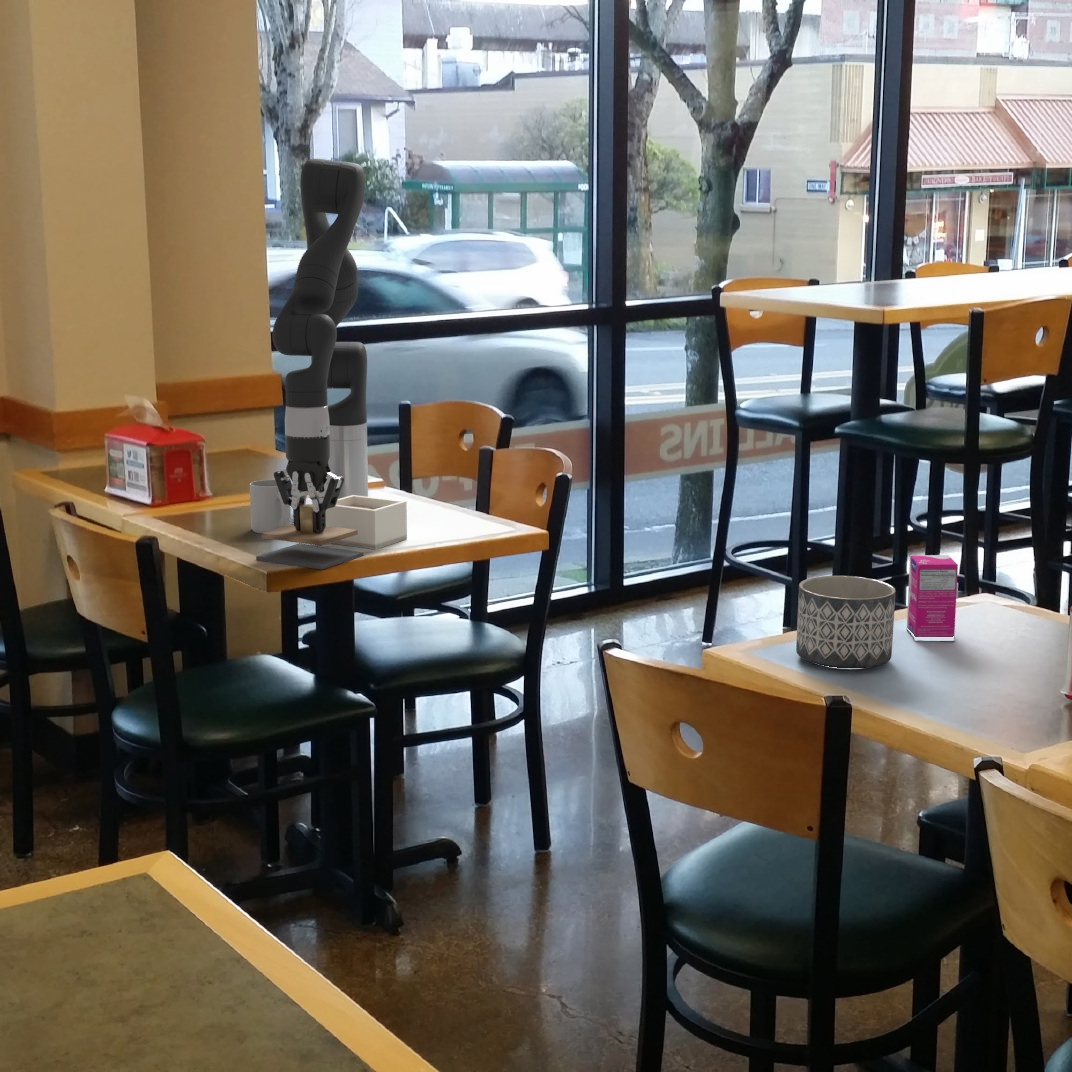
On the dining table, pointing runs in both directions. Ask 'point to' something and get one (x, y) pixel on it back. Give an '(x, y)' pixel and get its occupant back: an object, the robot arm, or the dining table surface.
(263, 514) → the cup
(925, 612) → the supplement box
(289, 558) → the mat
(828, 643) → the planter
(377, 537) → the tea box
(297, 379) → the robot arm
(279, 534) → the lid
